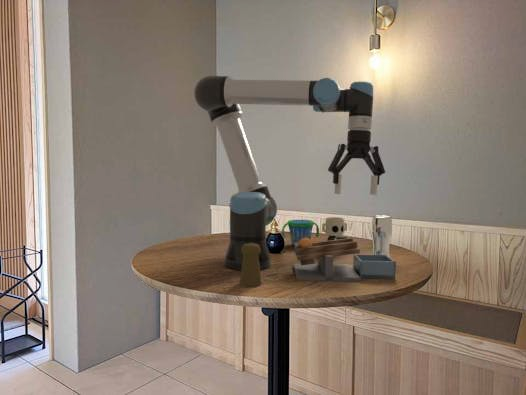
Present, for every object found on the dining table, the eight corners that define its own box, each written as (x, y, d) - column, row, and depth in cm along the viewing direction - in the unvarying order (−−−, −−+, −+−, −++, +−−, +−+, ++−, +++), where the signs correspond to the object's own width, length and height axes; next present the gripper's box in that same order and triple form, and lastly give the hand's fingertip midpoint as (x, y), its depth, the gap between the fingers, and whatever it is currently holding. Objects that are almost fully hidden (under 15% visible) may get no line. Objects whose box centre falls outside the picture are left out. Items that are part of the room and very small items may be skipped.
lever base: (297, 280, 112) (297, 255, 111) (293, 266, 128) (294, 245, 127) (360, 281, 112) (361, 256, 111) (349, 267, 127) (350, 245, 127)
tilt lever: (298, 267, 114) (296, 248, 113) (294, 252, 133) (292, 236, 133) (360, 259, 113) (358, 240, 113) (347, 246, 133) (345, 230, 133)
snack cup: (283, 248, 158) (284, 222, 157) (279, 243, 168) (280, 219, 167) (322, 247, 159) (322, 222, 158) (315, 243, 170) (316, 219, 169)
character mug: (326, 254, 146) (327, 219, 145) (317, 251, 153) (317, 217, 152) (351, 252, 150) (352, 218, 149) (341, 249, 157) (342, 216, 156)
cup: (359, 278, 115) (360, 261, 115) (353, 270, 124) (353, 254, 124) (395, 278, 115) (395, 261, 114) (385, 270, 124) (386, 254, 124)
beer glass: (392, 261, 137) (393, 218, 136) (371, 260, 139) (372, 217, 137) (389, 256, 144) (391, 216, 143) (370, 255, 145) (371, 215, 144)
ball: (300, 253, 117) (298, 240, 117) (299, 250, 121) (297, 238, 121) (313, 250, 117) (311, 237, 117) (312, 248, 121) (310, 235, 121)
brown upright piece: (261, 280, 111) (261, 241, 110) (261, 286, 105) (262, 246, 104) (239, 280, 111) (240, 241, 110) (239, 286, 105) (239, 245, 104)
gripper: (330, 126, 123) (327, 194, 125) (398, 132, 131) (394, 195, 133) (320, 128, 131) (316, 192, 132) (385, 133, 138) (381, 194, 140)
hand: (355, 194), depth 132 cm, fingers open, 13 cm apart
